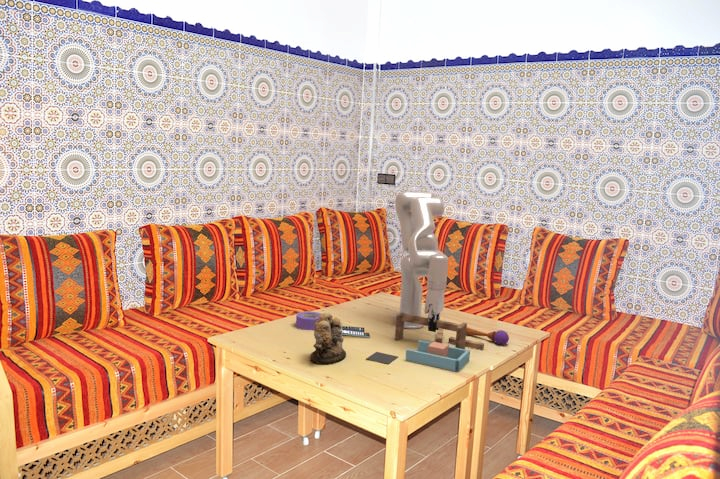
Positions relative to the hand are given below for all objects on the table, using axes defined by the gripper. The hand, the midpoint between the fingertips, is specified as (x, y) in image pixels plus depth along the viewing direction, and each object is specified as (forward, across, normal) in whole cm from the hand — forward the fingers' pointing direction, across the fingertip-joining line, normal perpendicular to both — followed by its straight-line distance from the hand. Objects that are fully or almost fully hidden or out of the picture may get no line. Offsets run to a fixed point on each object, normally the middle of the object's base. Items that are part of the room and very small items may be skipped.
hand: (433, 329), depth 230 cm
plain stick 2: (+7, -8, +12) cm, 16 cm away
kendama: (+7, -21, +16) cm, 27 cm away
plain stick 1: (+7, -10, 0) cm, 12 cm away
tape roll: (+7, +7, -54) cm, 54 cm away
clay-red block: (+7, +15, +8) cm, 18 cm away
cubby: (+6, +15, +8) cm, 18 cm away
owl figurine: (+7, +36, -28) cm, 46 cm away
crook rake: (+6, 0, -2) cm, 7 cm away
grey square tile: (+6, +25, -10) cm, 28 cm away
